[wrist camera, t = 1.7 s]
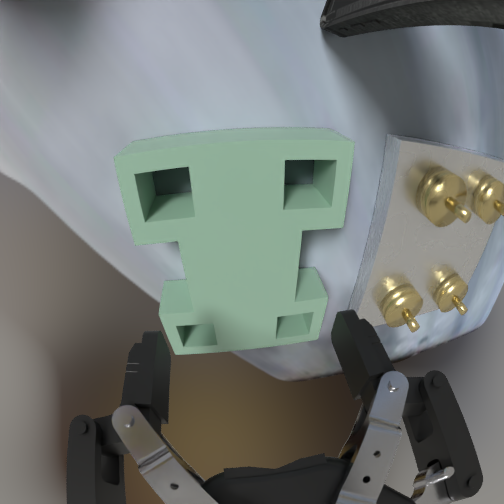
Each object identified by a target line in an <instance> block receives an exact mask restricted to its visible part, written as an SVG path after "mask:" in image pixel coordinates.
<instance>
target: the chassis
mask: <svg viewBox="0 0 504 504" xmlns="http://www.w3.org/2000/svg"><path fill="white" fill-rule="evenodd" d="M501 215H503V216H504V160H502V159H501V158H497V157H494V156H491V155H488V154H484V153H481V152H477V151H473V150H469V149H465V148H461V147H457V146H453V145H449V144H444V143H439V142H434V141H429V140H424V139H418V138H412V137H406V136H399V135H392V134H387V137H386V145H385V153H384V159H383V166H382V172H381V178H380V184H379V189H378V195H377V200H376V205H375V210H374V214H373V219H372V223H371V228H370V232H369V236H368V241H367V245H366V249H365V252H364V256H363V260H362V264H361V267H360V271H359V275H358V278H357V281H356V285H355V288H354V292H353V295H352V298H351V301H350V304H349V307H348V310H351V309H353V310H355V312H356V314H357V315H358V317H359V319H363V318H365V319H366V320H367V321H368V322H369V323H370V324H371V325H372V326H373V327H374V326H378V325H382V324H386V323H387V325H388V326H389V327H399V326H402V325H404V324H407V325H408V327H409V329H410V331H411V332H415V331H417V330H418V329H419V327H420V326H419V324H418V323H417V321H416V320H415V318H414V317H415V316H417V315H420V314H424V313H427V312H431V311H434V310H437V309H440V310H441V312H448V311H450V310H452V309H453V308H455V307H456V308H457V310H458V311H459V312H460V314H461V315H464V314H465V313H466V312H467V310H468V309H467V308H466V306H465V305H464V304H463V302H462V300H463V298H464V297H465V295H466V293H467V291H468V285H467V284H468V282H469V280H470V278H471V276H472V274H473V272H474V270H475V268H476V266H477V264H478V262H479V260H480V258H481V256H482V253H483V251H484V249H485V246H486V244H487V242H488V239H489V237H490V234H491V232H492V229H493V227H494V224H495V221H496V220H497V219H498V218H499V217H500V216H501Z"/></svg>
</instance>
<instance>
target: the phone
mask: <svg viewBox="0 0 504 504" xmlns="http://www.w3.org/2000/svg"><path fill="white" fill-rule="evenodd" d="M432 25H466V26H482V27H492V28H500V29H504V0H327V1H326V4H325V7H324V10H323V12H322V15H321V19H320V27H321V28H322V29H325V30H327V31H329V32H332V33H334V34H336V35H338V36H340V37H348V36H353V35H358V34H363V33H368V32H374V31H380V30H387V29H395V28H404V27H415V26H432Z"/></svg>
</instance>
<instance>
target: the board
mask: <svg viewBox="0 0 504 504" xmlns="http://www.w3.org/2000/svg"><path fill="white" fill-rule="evenodd" d="M354 144H355V142H354V141H352V140H351V139H349V138H347V137H345V136H343V135H341V134H339V133H337V132H335V131H334V130H332V129H328V128H300V127H271V128H242V129H226V130H213V131H202V132H193V133H184V134H176V135H169V136H162V137H156V138H149V139H144V140H138V141H133V142H131V143H130V144H129V145H128V146H127V147H125V148H124V149H123V150H122V151H121V152H119V153H118V154H117V155H116V156H115V157H114V162H115V167H116V172H117V177H118V181H119V186H120V190H121V194H122V198H123V203H124V207H125V211H126V214H127V218H128V222H129V226H130V229H131V233H132V236H133V240H134V243H135V246H136V245H146V244H156V243H166V242H176V241H178V244H179V249H180V253H181V258H182V263H183V267H184V272H185V276H186V279H185V280H172V281H164V285H163V291H162V297H161V303H160V309H159V316H160V319H161V321H162V323H163V326H164V329H165V331H166V333H167V336H168V338H169V341H170V343H171V346H172V348H173V350H174V352H175V354H176V355H178V354H196V353H197V354H198V353H212V352H225V351H237V350H247V349H256V348H264V347H272V346H280V345H287V344H293V343H300V342H306V341H312V340H318V336H319V333H320V329H321V325H322V321H323V318H324V314H325V310H326V306H327V301H328V295H327V293H326V291H325V288H324V286H323V284H322V282H321V280H320V277H319V275H318V273H317V271H316V269H315V267H311V268H302V269H298V268H299V258H300V248H301V238H302V231H304V230H318V229H332V228H343V224H344V218H345V212H346V206H347V199H348V193H349V185H350V178H351V170H352V162H353V153H354ZM285 160H314V169H313V183H312V184H293V185H284V173H285ZM181 167H189V172H190V181H191V189H192V192H185V193H176V194H167V195H159V196H156V192H155V186H154V181H153V175H152V171H158V170H165V169H173V168H181Z"/></svg>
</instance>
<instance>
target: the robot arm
mask: <svg viewBox="0 0 504 504" xmlns="http://www.w3.org/2000/svg"><path fill="white" fill-rule="evenodd" d="M331 339H332V343H333V346H334V349H335V351H336V354H337V356H338V359H339V362H340V364H341V367H342V370H343V372H344V375H345V378H346V380H347V383H348V386H349V388H350V391H351V394H352V397H353V399H354V400H356V399H360V398H361V399H362V402H363V404H362V406H361V409H360V412H359V414H358V417H357V419H356V422H355V424H354V427H353V429H352V432H351V434H350V436H349V438H348V440H347V442H346V443H345V445H344V447H343V448H342V451H341V453H340V455H339V457H338V458H335V457H325V455H324V453H323V454H319V455H315V456H311V457H306V458H301V459H299V460H296V461H294V462H292V463H289V464H287V465H285V466H282V467H280V468H277V469H269V468H257V467H239V468H226V469H224V472H222V473H219V474H217V475H214V476H213V477H211V478H209V479H208V480H206V481H205V480H204V479H203V478H202V477H201V476H200V475H199V474H198V473H197V472H196V471H195V470H194V469H193V468H192V467H191V466H190V465H189V464H188V463H187V462H186V461H185V460H184V459H183V458H182V457H181V456H180V455H179V454H178V452H177V451H176V450H175V449H174V448H173V447H172V445H171V444H170V443H169V442H168V441H167V439H166V438H165V437H164V436H163V434H162V433H161V424H168V412H169V384H170V366H171V357H170V352H169V348H168V346H167V344H166V341H165V339H164V337H163V334H162V332H161V331H145V332H144V334H143V338H142V343H135V344H134V346H133V347H132V349H131V350H130V352H129V356H128V362H127V363H128V365H127V367H126V373H125V380H124V387H123V393H122V401H121V404H120V406H119V408H118V409H116V410H115V412H114V413H113V414H111V415H109V416H105V417H101V418H96V419H91V418H90V417H89V416H86V415H79V416H77V417H75V418H74V419H73V420H72V422H71V424H70V430H69V440H68V453H67V504H126V497H125V483H124V454H127V453H131V455H132V456H133V457H134V459H135V460H136V462H137V463H138V465H139V467H138V468H139V471H140V472H141V474H142V475H143V477H144V478H145V479H146V481H147V482H148V483H149V484H150V485H151V487H152V488H153V489H154V491H155V492H156V493H157V494H158V495H159V496H160V498H161V499H162V500H163V501H164V502H165V503H166V504H450V503H451V502H454V501H458V500H461V499H465V498H468V497H472V496H473V495H475V494H476V493H477V492H478V491H479V489H480V488H481V486H482V482H483V475H482V471H481V468H480V464H479V461H478V457H477V454H476V451H475V448H474V445H473V442H472V439H471V436H470V433H469V431H468V428H467V425H466V423H465V420H464V417H463V415H462V412H461V410H460V407H459V405H458V403H457V400H456V398H455V396H454V393H453V391H452V389H451V386H450V384H449V383H448V380H447V378H446V376H445V375H444V374H443V373H441V372H440V371H430V372H429V373H427V374H426V376H425V377H405V376H404V375H403V374H402V373H400V372H397V371H396V370H395V369H394V367H393V365H392V363H391V361H390V359H389V357H388V355H387V353H386V351H385V349H384V347H383V345H382V343H380V339H379V337H378V336H377V333H376V332H375V330H374V328H373V326H372V325H371V324H370V323H369V322H368V321H367V320H366V319H365V318H363V319H359V317H358V315H357V314H356V312H355V310H353V309H351V310H346V311H340V312H338V313H337V315H336V318H335V322H334V325H333V329H332V332H331ZM401 417H402V418H403V421H404V424H405V427H406V430H407V433H408V436H409V439H410V443H411V446H412V449H413V453H414V456H415V460H416V463H417V467H418V470H419V473H418V474H417V475H416V477H415V479H414V483H413V487H414V492H413V495H412V496H411V498H409V497H407V496H405V495H403V494H401V493H400V492H397V491H396V490H394V489H392V488H390V487H388V486H387V485H385V484H384V483H385V480H386V478H387V475H388V473H389V470H390V467H391V465H392V462H393V459H394V456H395V453H396V449H397V447H398V444H399V441H400V437H401V433H402V430H401V428H400V427H399V424H400V421H401Z"/></svg>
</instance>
